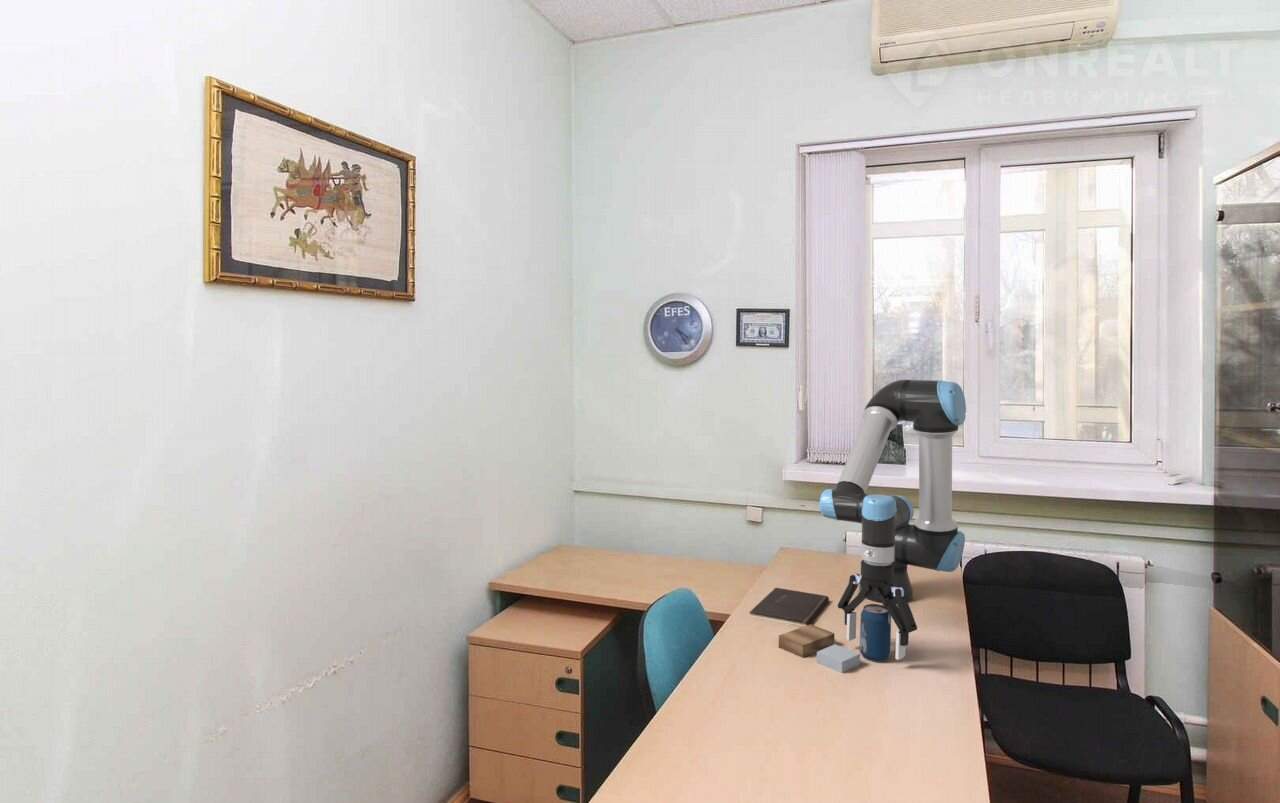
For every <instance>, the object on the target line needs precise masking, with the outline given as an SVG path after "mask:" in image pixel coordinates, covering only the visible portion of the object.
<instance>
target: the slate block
mask: <svg viewBox="0 0 1280 803" xmlns="http://www.w3.org/2000/svg"><path fill="white" fill-rule="evenodd" d="M860 662H861V653H860V652H857V651H854V650H852V649H849V648H846V647H843V646H840V645H838V644H836V643H834V645H832V646H830V647H827V648H825V649H822V650H820V651H818V652H816V664H817V665H821V666H823V667H826V668H828V669H830V670H832V671H836V672H838V673H840V674H843V673H846V672H847V671H849V670H851V669H853V668H856V667H857V666H860V665H861V663H860Z"/></svg>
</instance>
